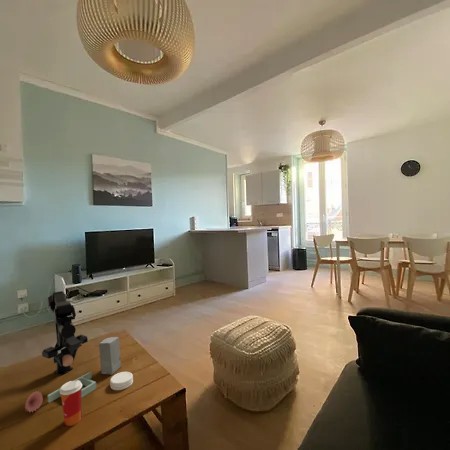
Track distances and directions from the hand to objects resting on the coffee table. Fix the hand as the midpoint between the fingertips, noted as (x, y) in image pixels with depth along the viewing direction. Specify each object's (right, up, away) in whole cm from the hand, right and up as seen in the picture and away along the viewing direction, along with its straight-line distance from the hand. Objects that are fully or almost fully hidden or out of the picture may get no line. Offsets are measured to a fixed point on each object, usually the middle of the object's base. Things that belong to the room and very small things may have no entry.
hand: (67, 363), depth 131 cm
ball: (0, -1, 0) cm, 1 cm away
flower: (-4, -11, -16) cm, 20 cm away
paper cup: (+16, -10, -24) cm, 31 cm away
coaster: (+27, -9, -1) cm, 28 cm away
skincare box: (+16, -9, +11) cm, 22 cm away
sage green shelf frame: (+9, -10, -6) cm, 14 cm away
